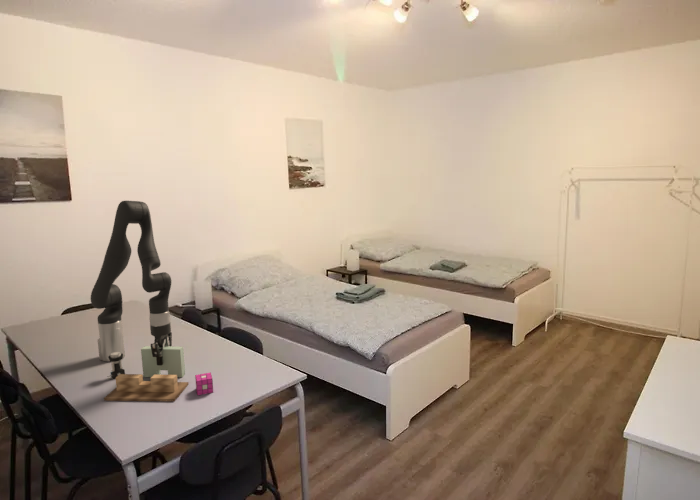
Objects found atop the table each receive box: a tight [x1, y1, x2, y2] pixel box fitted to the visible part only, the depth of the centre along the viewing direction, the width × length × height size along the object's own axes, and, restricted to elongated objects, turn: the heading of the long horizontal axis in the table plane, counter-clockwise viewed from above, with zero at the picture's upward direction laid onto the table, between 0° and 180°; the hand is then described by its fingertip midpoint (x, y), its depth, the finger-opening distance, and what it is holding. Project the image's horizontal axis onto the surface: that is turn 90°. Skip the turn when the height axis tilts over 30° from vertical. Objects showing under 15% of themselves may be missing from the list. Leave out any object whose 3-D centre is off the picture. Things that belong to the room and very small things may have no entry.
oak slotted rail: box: [103, 373, 189, 402], centre depth 165 cm, size 26×13×6 cm, turn 88°
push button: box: [106, 352, 126, 380], centre depth 177 cm, size 7×5×10 cm
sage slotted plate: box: [140, 345, 186, 378], centre depth 178 cm, size 16×3×12 cm, turn 88°
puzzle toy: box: [194, 372, 214, 396], centre depth 166 cm, size 6×6×6 cm
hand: (163, 361), depth 178 cm, fingers open, 5 cm apart
